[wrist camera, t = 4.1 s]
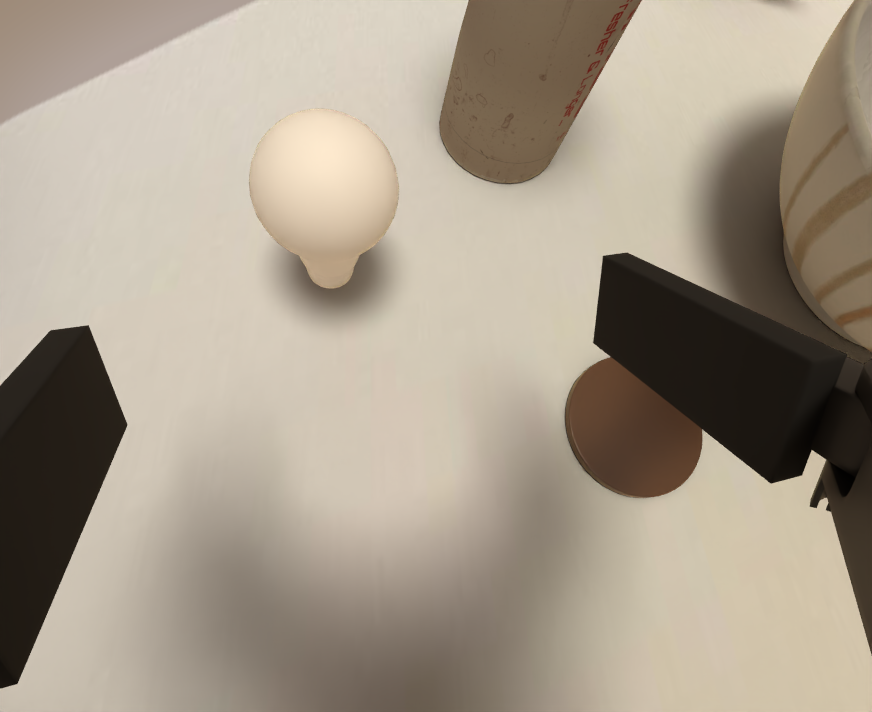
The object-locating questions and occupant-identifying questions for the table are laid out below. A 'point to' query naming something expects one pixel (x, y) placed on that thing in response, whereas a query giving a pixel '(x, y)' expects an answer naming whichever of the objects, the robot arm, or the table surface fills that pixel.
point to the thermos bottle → (524, 80)
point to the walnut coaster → (629, 433)
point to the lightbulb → (324, 190)
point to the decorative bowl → (833, 182)
